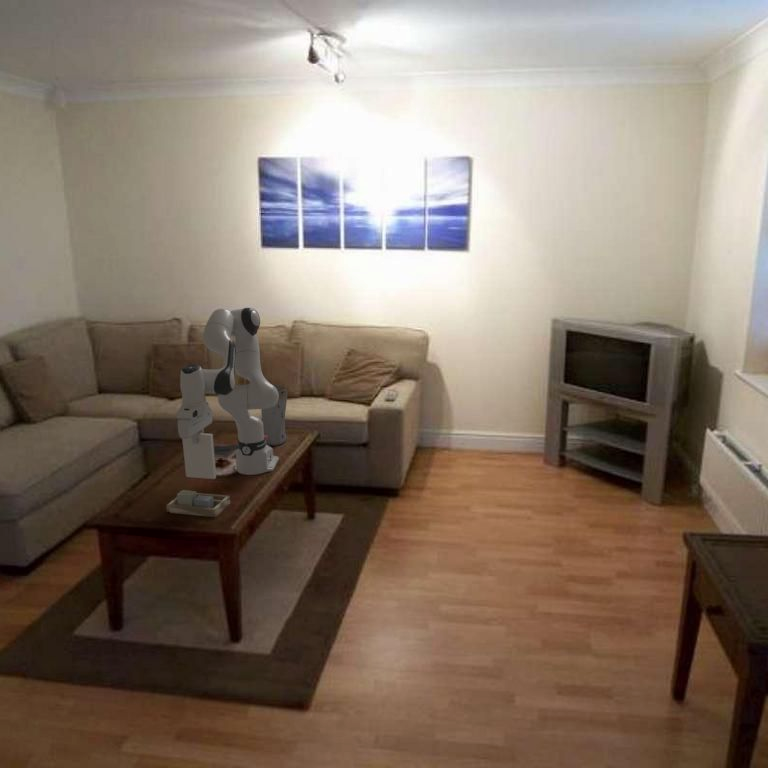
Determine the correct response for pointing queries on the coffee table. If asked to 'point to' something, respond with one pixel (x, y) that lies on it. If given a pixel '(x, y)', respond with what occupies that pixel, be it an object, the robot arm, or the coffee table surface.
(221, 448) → the picture frame
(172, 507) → the birch rack
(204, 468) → the tall board
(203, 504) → the slate offcut
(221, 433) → the coffee table surface
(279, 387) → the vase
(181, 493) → the sage offcut
